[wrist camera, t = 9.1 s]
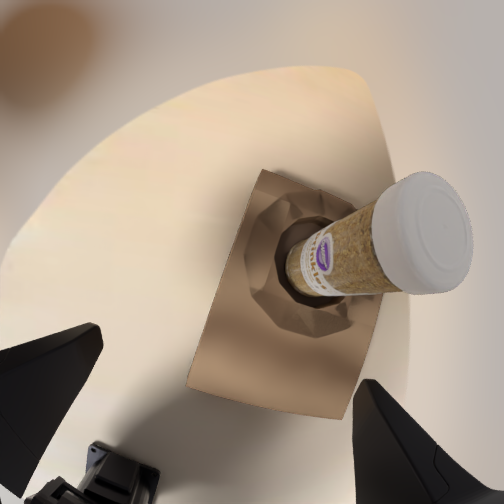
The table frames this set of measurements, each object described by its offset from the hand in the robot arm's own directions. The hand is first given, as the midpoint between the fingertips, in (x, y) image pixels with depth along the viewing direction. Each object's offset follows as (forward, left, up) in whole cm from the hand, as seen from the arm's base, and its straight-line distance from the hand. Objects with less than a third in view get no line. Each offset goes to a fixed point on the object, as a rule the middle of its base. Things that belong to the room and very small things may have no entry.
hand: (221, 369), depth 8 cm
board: (+4, -5, -12) cm, 14 cm away
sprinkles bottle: (+7, -6, -12) cm, 15 cm away
